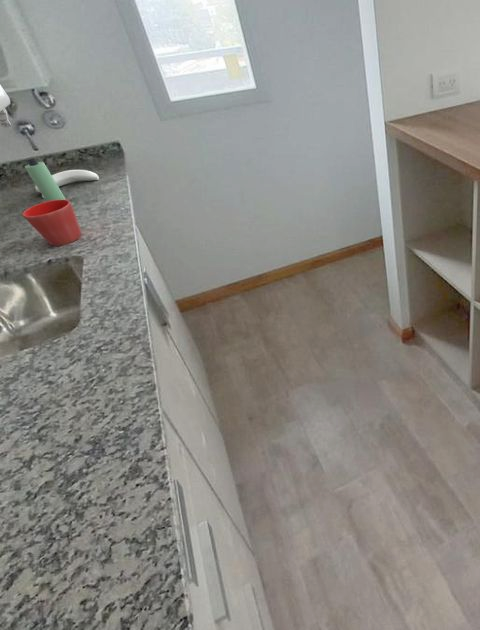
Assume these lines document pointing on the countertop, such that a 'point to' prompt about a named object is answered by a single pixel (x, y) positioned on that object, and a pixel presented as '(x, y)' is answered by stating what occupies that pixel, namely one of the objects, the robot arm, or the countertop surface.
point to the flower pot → (54, 221)
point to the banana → (72, 177)
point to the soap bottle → (43, 180)
